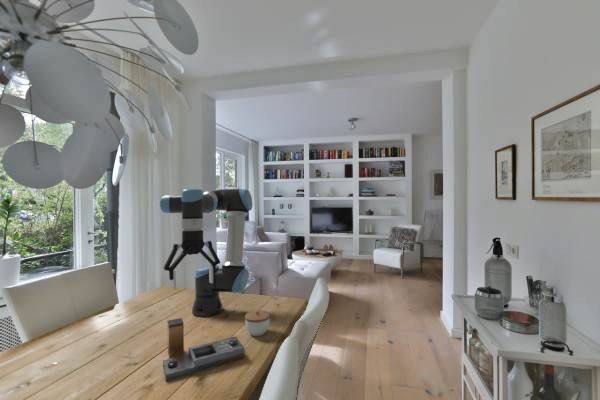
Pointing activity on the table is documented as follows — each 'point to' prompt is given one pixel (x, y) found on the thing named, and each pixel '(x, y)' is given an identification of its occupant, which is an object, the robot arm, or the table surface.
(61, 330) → the table surface
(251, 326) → the lidded jar
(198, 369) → the slotted plate with knobs
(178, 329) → the square wooden peg
